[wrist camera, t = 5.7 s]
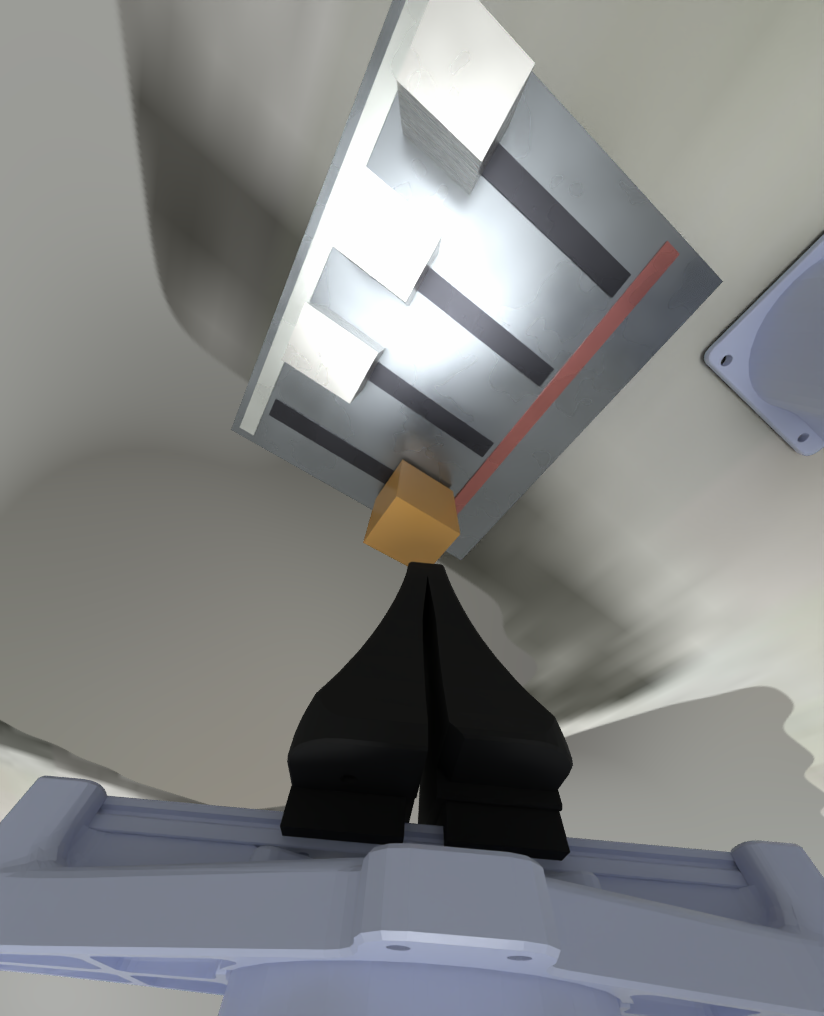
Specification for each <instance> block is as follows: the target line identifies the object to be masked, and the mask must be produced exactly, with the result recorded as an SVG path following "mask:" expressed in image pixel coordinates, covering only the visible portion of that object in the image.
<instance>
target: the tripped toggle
mask: <svg viewBox="0 0 824 1016" xmlns="http://www.w3.org/2000/svg"><path fill="white" fill-rule="evenodd" d="M459 535H460V529H459V523H458V517H457V511H456V506H455V500H454V494H453V491H452V490H450V489H449V488H447V487H446V486H444V485H442V484H441V483H439V482H438V481H436V480H434V479H433V478H431V477H430V476H428V475H426V474H425V473H423V472H422V471H420V470H419V469H417V468H415V467H414V466H412V465H411V464H409V463H407V462H406V461H404V460H403V459H402V461H401V462H400V464H399V465H398V467H397V468H396V470H395V471H394V473H393V474H392V476H391V477H390V479H389V480H388V481H387V483H386V484H385V486H384V487H383V489H382V490H381V492H380V493H379V495H378V496H377V498H376V499H375V503H374V506H373V510H372V513H371V517H370V520H369V524H368V527H367V531H366V535H365V538H364V542H363V543H365V544H367V545H369V546H370V547H372V548H374V549H376V550H378V551H380V552H382V553H384V554H385V555H388V556H389V557H391V558H393V559H395V560H397V561H399V562H401V563H402V564H404V565H406V566H408V563H410V562H421V563H431V564H434V563H435V562H436V561H437V560H438V559H439V558H440V556H441V555H442V554H443V553H444V552H445V551H446V550H447V549H448V548H449V546H450V545H451V544H452V543H453V542H454V541H455V540H456V539H457V537H458V536H459Z"/></svg>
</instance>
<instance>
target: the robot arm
mask: <svg viewBox="0 0 824 1016" xmlns="http://www.w3.org/2000/svg"><path fill="white" fill-rule="evenodd" d="M725 356H726V360H725V362H724V363H723V364H721V360H722V359H723V357H725ZM704 361H705V363H706V364H707V365H708V366H709V367H710V368H711V369H712V370H713V371H714V372H715V373H716V374H717V375H718V376H719V377H720V378H721V379H722V380H723V381H724V382H726V383H727V384H728V385H729V386H730V387H731V388H732V389H733V390H734V391H735V392H736V393H737V394H738V395H739V396H740V397H741V398H742V399H743V400H744V401H745V402H746V403H747V404H748V405H749V406H750V407H751V408H752V409H753V410H754V411H755V412H756V413H757V414H758V415H759V416H760V417H761V418H762V419H763V420H764V421H765V422H766V423H767V424H768V425H769V426H771V427H772V428H773V429H774V430H775V431H776V432H777V433H778V434H779V435H780V436H781V437H782V438H783V439H784V440H785V441H786V442H787V443H788V444H789V445H790V446H791V447H792V448H793V449H794V450H795V451H796V452H797V453H799V454H802V455H805V456H809V455H812V454H815V453H816V452H818V451H819V450H821V449H822V448H823V447H824V234H823V235H822V236H821V237H820V238H819V239H818V240H817V241H816V242H815V243H814V244H813V245H812V246H811V247H810V248H809V249H808V250H807V251H806V252H805V253H804V254H803V255H802V256H801V257H800V258H799V259H798V260H797V261H796V262H795V263H794V264H793V265H792V266H791V267H790V268H789V269H788V270H787V271H786V272H785V273H784V274H783V275H782V276H781V277H780V278H779V279H778V280H777V281H776V282H775V283H774V284H773V285H772V286H771V287H770V288H769V289H768V290H767V291H766V292H765V293H764V294H763V295H762V296H761V297H760V298H759V299H758V300H757V301H756V302H755V303H754V304H753V305H752V306H751V307H750V308H749V309H748V310H747V311H746V312H745V313H744V314H743V315H742V316H741V317H740V318H739V319H738V320H737V321H736V322H735V323H734V324H733V325H732V326H730V327H729V328H728V329H727V330H726V331H725V332H724V333H723V334H722V335H721V336H720V337H719V338H718V339H717V340H716V341H715V342H714V343H713V344H712V345H711V346H710V347H709V348H708V350H707V351H706V353H705V355H704ZM800 435H801V436H800ZM799 436H800V437H799ZM798 437H799V438H798ZM287 762H288V767H289V772H290V777H291V783H292V786H291V790H290V793H289V796H288V800H287V803H286V807H285V810H284V812H281V811H270V810H259V809H247V808H237V807H226V806H215V805H204V804H193V803H182V802H171V801H160V800H148V799H137V798H126V797H115V796H107V794H106V791H105V789H104V788H103V787H102V786H101V785H100V784H98V783H96V782H93V781H91V780H86V779H77V778H66V777H55V776H42V777H40V778H38V779H37V780H36V781H35V783H34V784H33V785H32V786H31V787H30V788H29V790H28V791H27V792H26V793H25V794H24V795H23V797H22V798H21V799H20V800H19V801H18V802H17V804H16V805H15V806H14V807H13V808H12V809H11V811H10V812H9V813H8V814H7V815H6V816H5V818H4V819H3V820H2V821H1V822H0V970H1V971H12V972H23V973H33V974H43V975H53V976H63V977H71V978H80V979H89V980H99V981H106V982H115V983H123V984H132V985H140V986H149V987H157V988H165V989H173V990H182V991H191V992H200V993H207V994H216V995H224V997H223V1000H222V1004H221V1007H220V1010H219V1014H218V1016H824V878H823V876H822V875H821V873H820V872H819V871H818V869H817V868H816V866H815V865H814V864H813V862H812V861H811V859H810V858H809V857H808V855H807V854H806V852H805V851H804V850H803V848H802V847H800V846H799V845H797V844H791V843H780V842H769V841H747V842H743V843H741V844H738V845H737V846H735V847H734V848H733V849H732V850H731V852H723V851H712V850H702V849H690V848H679V847H668V846H657V845H646V844H635V843H623V842H613V841H602V840H590V839H580V838H569V837H566V834H565V830H564V827H563V824H562V820H561V816H560V812H559V811H561V810H562V802H561V799H560V795H559V792H558V789H559V787H560V786H561V784H562V783H563V782H564V780H565V779H566V778H567V776H568V775H569V773H570V770H571V769H572V766H573V763H572V757H571V754H570V751H569V748H568V745H567V743H566V740H565V738H564V736H563V733H562V731H561V729H560V727H559V725H558V722H557V720H556V718H555V717H554V716H553V715H552V714H551V713H550V712H549V711H548V710H547V709H546V708H545V707H543V706H542V705H541V704H540V703H539V702H538V701H537V700H536V699H535V698H534V697H532V696H531V695H530V694H529V693H528V692H527V691H526V690H525V689H524V688H523V687H522V686H521V685H520V684H519V683H518V682H517V681H516V680H515V678H514V677H513V676H512V675H511V674H510V673H509V672H508V670H507V669H506V668H505V667H504V666H503V665H502V664H501V662H500V661H499V660H498V659H497V658H496V657H495V655H494V654H493V653H492V651H491V650H490V649H489V647H488V646H487V645H486V643H485V642H484V641H483V640H482V638H481V637H480V635H479V634H478V632H477V631H476V629H475V628H474V626H473V625H472V623H471V621H470V620H469V618H468V617H467V615H466V613H465V611H464V610H463V608H462V606H461V604H460V602H459V600H458V598H457V596H456V594H455V593H454V590H453V588H452V586H451V584H450V581H449V579H448V576H447V574H446V571H445V568H444V566H443V565H440V564H431V563H421V562H410V563H408V569H407V573H406V576H405V578H404V581H403V583H402V586H401V588H400V590H399V592H398V594H397V596H396V598H395V600H394V602H393V603H392V605H391V607H390V608H389V610H388V612H387V613H386V615H385V617H384V618H383V620H382V621H381V623H380V624H379V625H378V627H377V628H376V630H375V631H374V632H373V634H372V635H371V636H370V638H369V639H368V640H367V641H366V643H365V644H364V645H363V646H362V648H361V649H360V650H359V651H358V652H357V653H356V654H355V656H354V657H353V658H352V659H351V660H350V661H349V662H348V663H347V664H346V665H345V666H344V668H342V669H341V671H340V672H338V674H336V675H335V676H334V677H333V678H332V679H331V680H330V681H329V682H328V683H327V684H326V685H325V686H323V687H322V689H320V690H319V691H318V692H317V693H316V694H315V696H314V697H313V699H312V701H311V702H310V704H309V706H308V708H307V709H306V711H305V713H304V715H303V717H302V719H301V721H300V723H299V725H298V727H297V730H296V732H295V735H294V738H293V741H292V744H291V747H290V750H289V753H288V761H287ZM419 785H420V792H419V813H418V824H414V823H409V820H410V816H411V812H412V808H413V804H414V799H415V798H416V797H417V793H418V789H419Z"/></svg>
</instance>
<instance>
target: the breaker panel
mask: <svg viewBox="0 0 824 1016" xmlns="http://www.w3.org/2000/svg"><path fill="white" fill-rule="evenodd" d="M534 65H535V63H534V61H533V60H532V59H531V58H530V57H529V56H528V55H527V54H526V53H525V51H524V50H523V49H522V48H521V47H520V46H519V45H518V44H517V43H516V41H515V40H514V39H513V38H512V37H511V36H510V35H509V34H508V32H507V31H506V30H505V29H504V28H503V27H502V26H501V25H500V24H499V22H498V21H497V20H496V19H495V18H494V17H493V16H492V15H491V14H490V12H489V11H488V10H487V9H486V8H485V7H484V6H483V5H482V4H481V2H480V1H479V0H393V1H392V4H391V6H390V9H389V12H388V14H387V17H386V20H385V22H384V25H383V28H382V30H381V33H380V36H379V38H378V41H377V44H376V46H375V49H374V52H373V54H372V57H371V60H370V62H369V65H368V67H367V70H366V73H365V75H364V78H363V81H362V83H361V86H360V89H359V91H358V94H357V97H356V99H355V102H354V105H353V107H352V110H351V113H350V115H349V118H348V121H347V123H346V126H345V128H344V131H343V134H342V136H341V139H340V142H339V144H338V147H337V150H336V152H335V155H334V158H333V160H332V163H331V166H330V168H329V171H328V174H327V176H326V179H325V182H324V184H323V187H322V190H321V192H320V195H319V197H318V200H317V203H316V205H315V208H314V211H313V213H312V216H311V219H310V221H309V224H308V227H307V229H306V232H305V235H304V237H303V240H302V243H301V245H300V248H299V251H298V253H297V256H296V259H295V261H294V264H293V266H292V269H291V272H290V274H289V277H288V280H287V282H286V285H285V288H284V290H283V293H282V296H281V298H280V301H279V304H278V306H277V309H276V312H275V314H274V317H273V320H272V322H271V325H270V328H269V330H268V333H267V335H266V338H265V341H264V343H263V346H262V349H261V351H260V354H259V357H258V359H257V362H256V365H255V367H254V370H253V373H252V375H251V378H250V381H249V383H248V386H247V389H246V391H245V394H244V397H243V399H242V402H241V404H240V407H239V410H238V412H237V415H236V418H235V420H234V423H233V426H232V429H231V430H232V431H234V432H236V433H238V434H239V435H241V436H243V437H245V438H247V439H248V440H250V441H252V442H254V443H256V444H257V445H259V446H261V447H262V448H264V449H266V450H268V451H269V452H271V453H273V454H275V455H277V456H278V457H280V458H282V459H284V460H285V461H287V462H289V463H291V464H292V465H294V466H296V467H298V468H300V469H301V470H303V471H305V472H307V473H308V474H310V475H312V476H314V477H315V478H317V479H319V480H321V481H322V482H324V483H326V484H328V485H329V486H331V487H333V488H335V489H337V490H338V491H340V492H342V493H344V494H346V495H347V496H349V497H351V498H352V499H354V500H356V501H358V502H360V503H361V504H363V505H365V506H366V507H368V508H370V509H372V510H373V506H374V503H375V499H376V498H377V496H378V495H379V493H380V492H381V490H382V489H383V487H384V486H385V484H386V483H387V481H388V480H389V479H390V477H391V476H392V474H393V473H394V471H395V470H396V468H397V467H398V465H399V464H400V462H401V461H402V459H403V460H404V461H406V462H407V463H409V464H411V465H412V466H414V467H415V468H417V469H419V470H420V471H422V472H423V473H425V474H426V475H428V476H430V477H431V478H433V479H434V480H436V481H438V482H439V483H441V484H442V485H444V486H446V487H447V488H449V489H450V490H452V491H453V494H454V500H455V506H456V511H457V517H458V523H459V529H460V535H459V536H458V537H457V539H456V540H455V541H454V542H453V543H452V544H451V545H450V546H449V548H448V549H447V550H446V552H448V553H449V554H451V555H453V556H455V557H456V558H458V559H460V560H462V559H463V558H464V557H465V555H466V554H467V553H468V552H469V551H470V550H471V549H472V548H473V547H474V546H475V545H476V544H477V543H478V542H479V541H480V539H481V538H482V537H483V536H484V535H485V534H486V533H487V532H488V531H489V530H490V529H491V528H492V527H493V526H494V525H495V524H496V522H497V521H498V520H499V519H500V518H501V517H502V516H503V515H504V514H505V513H506V512H507V511H508V510H509V509H510V508H511V507H512V505H513V504H514V503H515V502H516V501H517V500H518V499H519V498H520V497H521V496H522V495H523V494H524V493H525V492H526V491H527V489H528V488H529V487H530V486H531V485H532V484H533V483H534V482H535V481H536V480H537V479H538V478H539V477H540V476H541V475H542V474H543V472H544V471H545V470H546V469H547V468H548V467H549V466H550V465H551V464H552V463H553V462H554V461H555V460H556V459H557V458H558V456H559V455H560V454H561V453H562V452H563V451H564V450H565V449H566V448H567V447H568V446H569V445H570V444H571V443H572V442H573V441H574V439H575V438H576V437H577V436H578V435H579V434H580V433H581V432H582V431H583V430H584V429H585V428H586V427H587V426H588V425H589V423H590V422H591V421H592V420H593V419H594V418H595V417H596V416H597V415H598V414H599V413H600V412H601V411H602V410H603V409H604V408H605V406H606V405H607V404H608V403H609V402H610V401H611V400H612V399H613V398H614V397H615V396H616V395H617V394H618V393H619V392H620V390H621V389H622V388H623V387H624V386H625V385H626V384H627V383H628V382H629V381H630V380H631V379H632V378H633V377H634V376H635V375H636V373H637V372H638V371H639V370H640V369H641V368H642V367H643V366H644V365H645V364H646V363H647V362H648V361H649V360H650V359H651V358H652V356H653V355H654V354H655V353H656V352H657V351H658V350H659V349H660V348H661V347H662V346H663V345H664V344H665V343H666V342H667V340H668V339H669V338H670V337H671V336H672V335H673V334H674V333H675V332H676V331H677V330H678V329H679V328H680V327H681V326H682V325H683V323H684V322H685V321H686V320H687V319H688V318H689V317H690V316H691V315H692V314H693V313H694V312H695V311H696V310H697V309H698V307H699V306H700V305H701V304H702V303H703V302H704V301H705V300H706V299H707V298H708V297H709V296H710V295H711V294H712V293H713V292H714V290H715V289H716V288H717V287H718V286H719V285H720V284H721V283H722V282H723V281H722V280H721V279H720V278H719V277H718V276H717V274H716V273H715V272H714V271H713V270H712V269H711V268H710V267H709V266H708V265H707V263H706V262H705V261H704V260H703V259H702V258H701V257H700V256H699V255H698V254H697V252H696V251H695V250H694V249H693V248H692V247H691V246H690V245H689V244H688V243H687V241H686V240H685V239H684V238H683V237H682V236H681V235H680V234H679V233H678V232H677V230H676V229H675V228H674V227H673V226H672V225H671V224H670V223H669V222H668V221H667V219H666V218H665V217H664V216H663V215H662V214H661V213H660V212H659V211H658V210H657V208H656V207H655V206H654V205H653V204H652V203H651V202H650V201H649V200H648V198H647V197H646V196H645V195H644V194H643V193H642V192H641V191H640V190H639V189H638V187H637V186H636V185H635V184H634V183H633V182H632V181H631V180H630V179H629V178H628V176H627V175H626V174H625V173H624V172H623V171H622V170H621V169H620V168H619V167H618V165H617V164H616V163H615V162H614V161H613V160H612V159H611V158H610V157H609V156H608V154H607V153H606V152H605V151H604V150H603V149H602V148H601V147H600V146H599V145H598V143H597V142H596V141H595V140H594V139H593V138H592V137H591V136H590V135H589V134H588V132H587V131H586V130H585V129H584V128H583V127H582V126H581V125H580V124H579V123H578V121H577V120H576V119H575V118H574V117H573V116H572V115H571V114H570V113H569V111H568V110H567V109H566V108H565V107H564V106H563V105H562V104H561V103H560V102H559V100H558V99H557V98H556V97H555V96H554V95H553V94H552V93H551V92H550V91H549V89H548V88H547V87H546V86H545V85H544V84H543V83H542V82H541V81H540V80H539V78H538V77H537V76H536V75H535V74H534V73H533V72H532V69H533V67H534Z"/></svg>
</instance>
